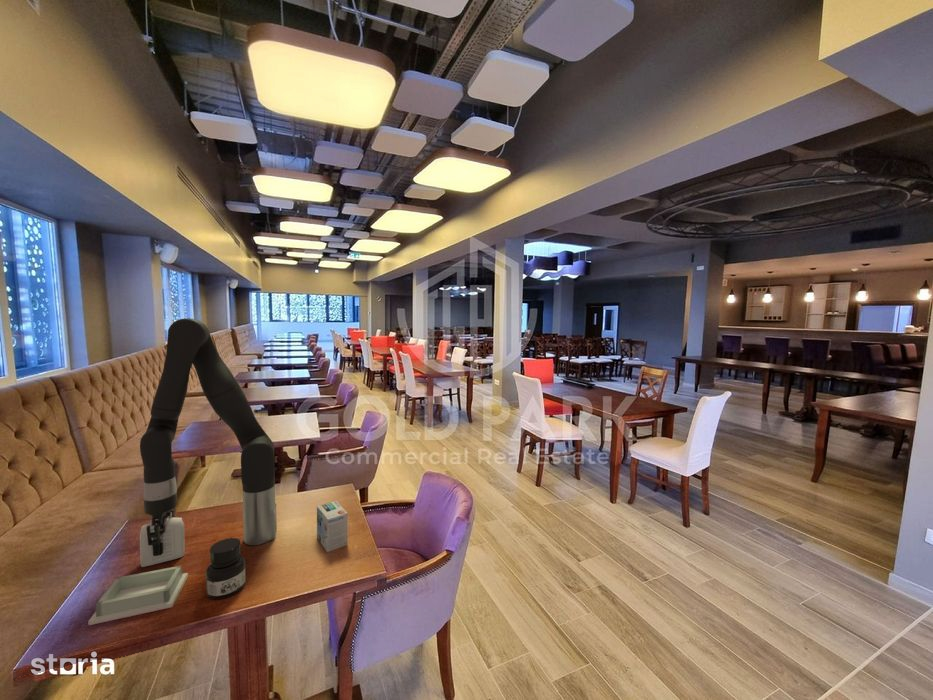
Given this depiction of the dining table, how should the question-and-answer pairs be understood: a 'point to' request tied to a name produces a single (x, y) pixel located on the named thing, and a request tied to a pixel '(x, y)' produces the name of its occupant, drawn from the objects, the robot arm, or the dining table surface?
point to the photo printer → (171, 543)
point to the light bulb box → (332, 526)
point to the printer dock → (139, 594)
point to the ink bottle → (225, 569)
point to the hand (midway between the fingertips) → (162, 547)
